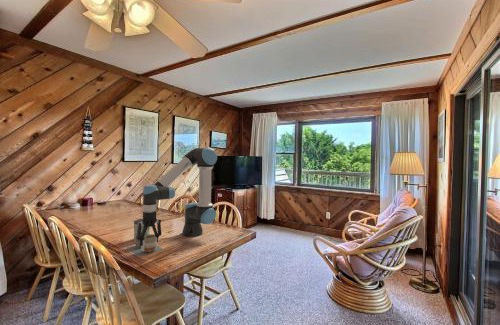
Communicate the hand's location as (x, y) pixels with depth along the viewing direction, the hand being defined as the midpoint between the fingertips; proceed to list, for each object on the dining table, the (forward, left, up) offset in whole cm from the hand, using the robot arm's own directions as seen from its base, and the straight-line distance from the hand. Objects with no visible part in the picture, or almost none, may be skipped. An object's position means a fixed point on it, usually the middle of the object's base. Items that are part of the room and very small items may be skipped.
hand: (149, 249), depth 154 cm
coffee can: (-5, -24, -3) cm, 25 cm away
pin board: (0, -6, -3) cm, 7 cm away
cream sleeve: (0, 0, 0) cm, 0 cm away
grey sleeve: (0, -12, -2) cm, 12 cm away
